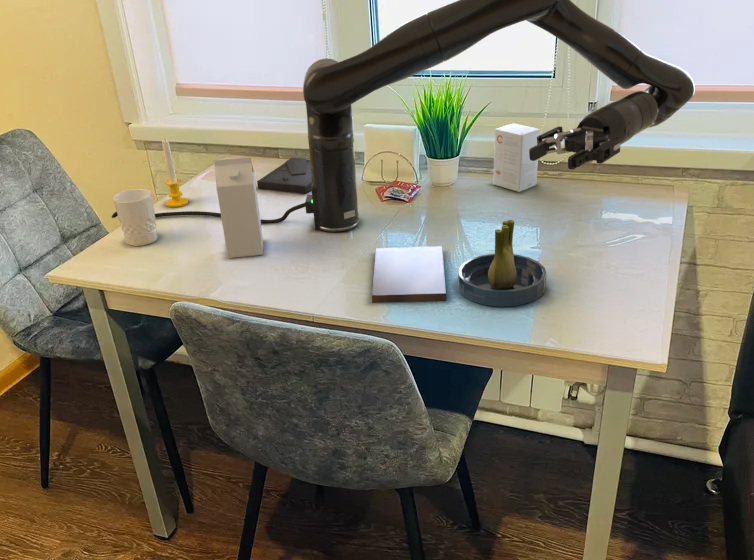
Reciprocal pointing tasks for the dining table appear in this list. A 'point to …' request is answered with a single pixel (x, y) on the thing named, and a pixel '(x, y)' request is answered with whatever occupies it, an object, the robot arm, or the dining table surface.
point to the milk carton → (239, 207)
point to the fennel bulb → (503, 259)
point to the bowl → (480, 291)
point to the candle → (172, 179)
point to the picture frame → (289, 177)
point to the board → (409, 275)
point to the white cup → (136, 216)
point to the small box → (515, 157)
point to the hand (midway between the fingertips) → (549, 159)
